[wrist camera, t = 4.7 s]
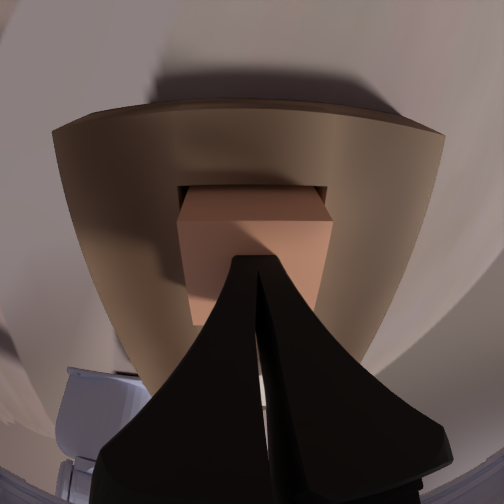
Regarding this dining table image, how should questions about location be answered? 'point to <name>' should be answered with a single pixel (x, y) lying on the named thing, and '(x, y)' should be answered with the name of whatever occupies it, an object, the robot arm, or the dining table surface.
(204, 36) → the dining table surface
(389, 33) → the dining table surface
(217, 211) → the salmon orange square block
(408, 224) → the key panel
